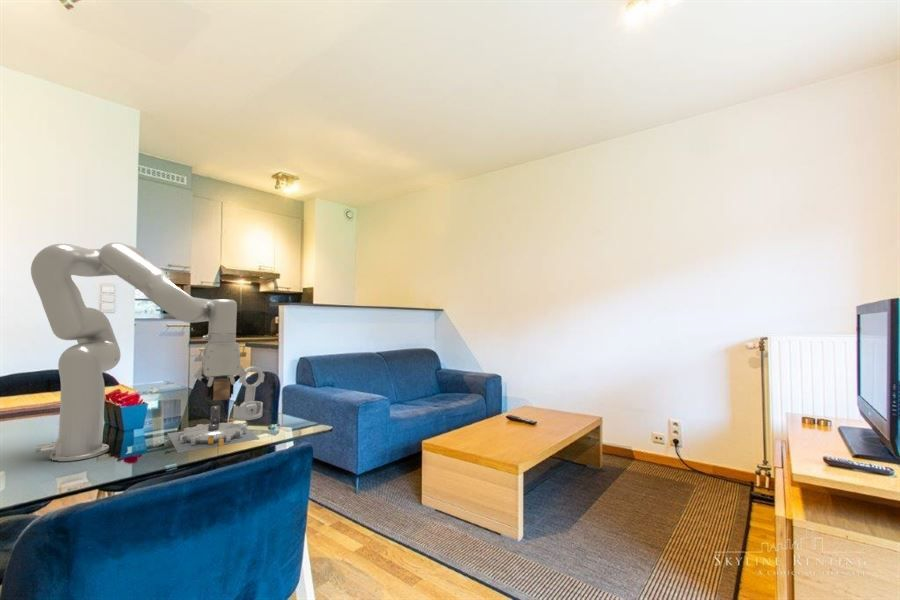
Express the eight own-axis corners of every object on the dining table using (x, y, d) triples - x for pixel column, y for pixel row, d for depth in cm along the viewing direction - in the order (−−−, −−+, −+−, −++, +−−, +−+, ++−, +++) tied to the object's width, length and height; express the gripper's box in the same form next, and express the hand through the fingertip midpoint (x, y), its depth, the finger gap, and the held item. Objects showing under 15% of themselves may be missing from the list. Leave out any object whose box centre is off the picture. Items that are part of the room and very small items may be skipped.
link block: (213, 400, 126) (214, 382, 126) (210, 398, 129) (211, 379, 129) (229, 398, 129) (230, 380, 129) (226, 396, 132) (226, 378, 132)
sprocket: (167, 436, 131) (168, 411, 131) (227, 424, 147) (228, 401, 147) (195, 449, 120) (197, 421, 121) (257, 434, 136) (258, 409, 136)
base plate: (177, 458, 118) (178, 447, 118) (166, 438, 135) (167, 428, 135) (259, 443, 132) (260, 433, 132) (240, 427, 150) (240, 418, 150)
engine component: (228, 421, 158) (241, 425, 152) (230, 366, 158) (243, 369, 152) (256, 415, 166) (269, 420, 160) (258, 364, 167) (271, 366, 161)
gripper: (192, 340, 121) (190, 403, 120) (254, 338, 132) (252, 396, 131) (188, 338, 127) (186, 399, 126) (247, 337, 138) (245, 393, 137)
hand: (219, 397), depth 129 cm, fingers closed on link block, 4 cm apart
